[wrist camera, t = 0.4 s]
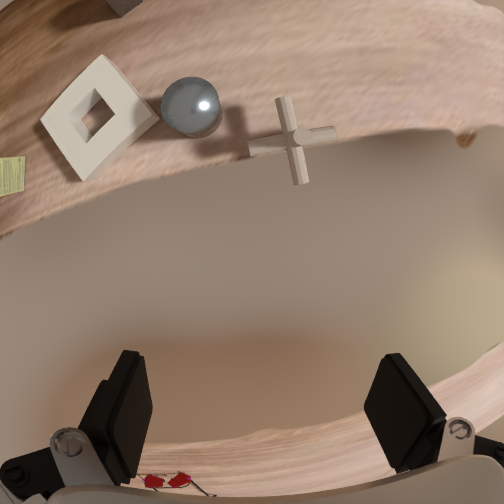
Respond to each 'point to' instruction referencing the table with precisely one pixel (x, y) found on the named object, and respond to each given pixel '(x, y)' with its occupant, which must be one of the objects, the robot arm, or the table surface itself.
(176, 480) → the glasses
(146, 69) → the table surface
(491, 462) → the robot arm
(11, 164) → the box
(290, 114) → the pipe connector
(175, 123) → the cylinder
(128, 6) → the square bit
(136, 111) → the holder block
